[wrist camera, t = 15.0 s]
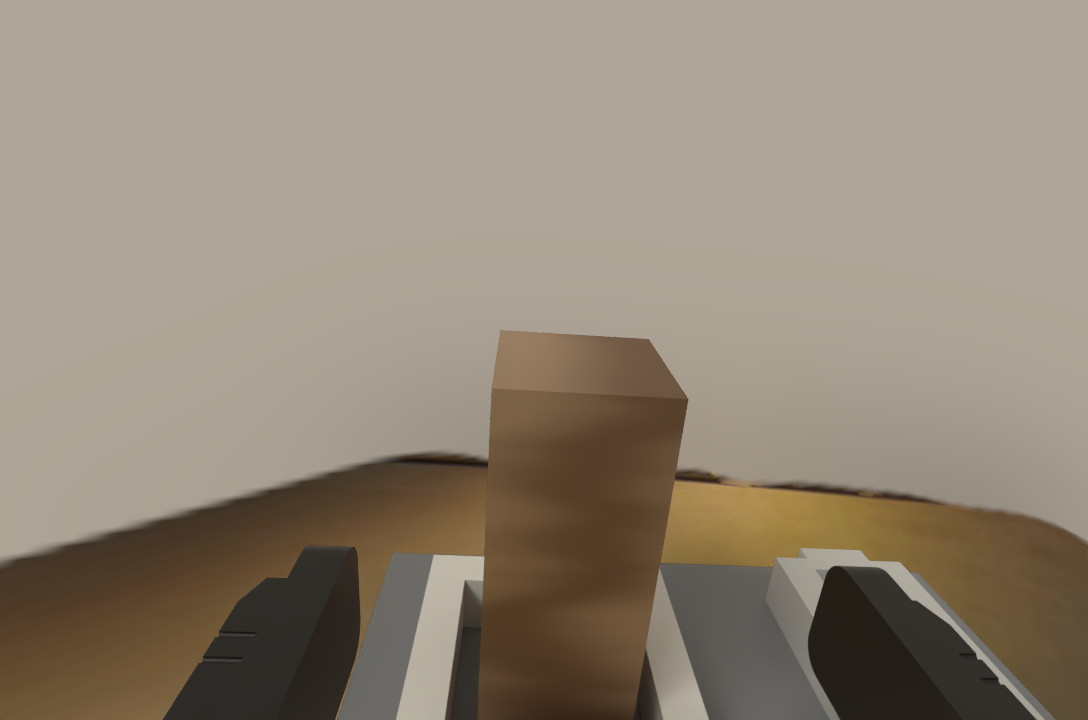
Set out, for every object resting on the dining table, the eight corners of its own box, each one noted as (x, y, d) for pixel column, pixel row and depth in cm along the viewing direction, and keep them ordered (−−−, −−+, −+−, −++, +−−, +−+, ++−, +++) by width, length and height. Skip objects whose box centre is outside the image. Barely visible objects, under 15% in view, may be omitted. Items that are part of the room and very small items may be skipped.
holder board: (246, 1036, 11) (228, 945, 10) (393, 572, 23) (391, 510, 22) (1297, 1030, 12) (1378, 948, 11) (911, 592, 24) (931, 533, 23)
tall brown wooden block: (475, 770, 15) (492, 388, 11) (485, 647, 19) (500, 330, 15) (624, 773, 15) (688, 399, 12) (604, 651, 19) (648, 339, 15)
